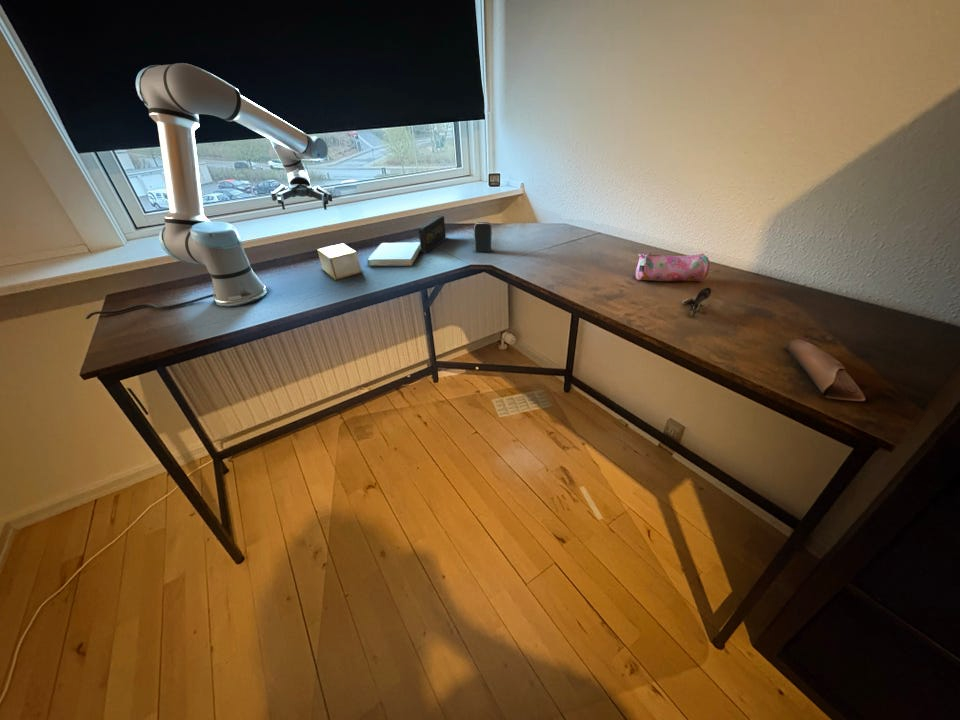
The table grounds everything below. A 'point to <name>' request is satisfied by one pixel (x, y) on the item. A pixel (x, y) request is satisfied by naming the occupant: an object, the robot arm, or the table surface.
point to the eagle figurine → (698, 301)
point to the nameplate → (432, 233)
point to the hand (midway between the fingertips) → (304, 205)
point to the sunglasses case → (825, 372)
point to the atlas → (394, 254)
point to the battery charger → (483, 236)
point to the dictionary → (339, 261)
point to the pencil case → (672, 267)
